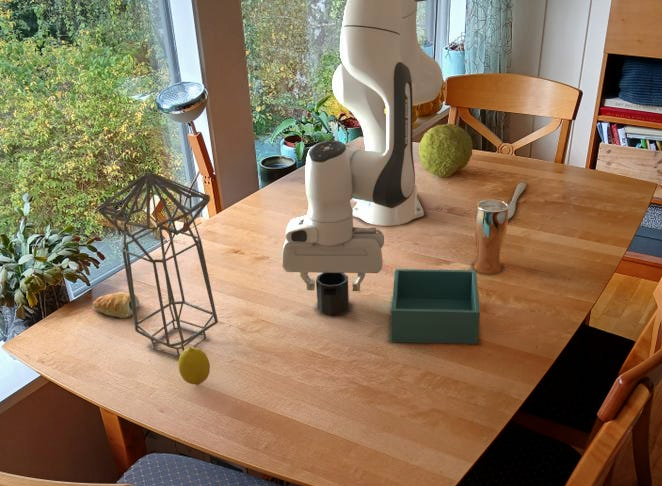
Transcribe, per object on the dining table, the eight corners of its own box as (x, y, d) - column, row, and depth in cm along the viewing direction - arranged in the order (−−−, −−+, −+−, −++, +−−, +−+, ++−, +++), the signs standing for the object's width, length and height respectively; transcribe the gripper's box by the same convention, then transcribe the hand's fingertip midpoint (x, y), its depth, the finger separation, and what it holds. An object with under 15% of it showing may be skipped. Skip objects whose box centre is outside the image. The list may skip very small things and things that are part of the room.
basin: (394, 298, 158) (394, 269, 154) (473, 300, 156) (475, 270, 152) (391, 341, 144) (391, 310, 140) (477, 344, 143) (480, 312, 138)
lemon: (183, 376, 138) (176, 340, 133) (213, 374, 138) (207, 338, 133) (180, 394, 133) (173, 358, 128) (211, 392, 133) (205, 355, 129)
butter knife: (530, 183, 205) (519, 181, 206) (507, 223, 185) (496, 221, 186) (529, 185, 205) (519, 183, 206) (507, 225, 185) (495, 223, 186)
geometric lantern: (180, 314, 156) (149, 152, 136) (236, 336, 148) (212, 167, 128) (123, 350, 145) (80, 180, 125) (180, 376, 138) (144, 199, 118)
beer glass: (502, 275, 164) (509, 212, 155) (470, 273, 165) (475, 211, 157) (503, 261, 170) (509, 199, 161) (472, 259, 171) (477, 198, 162)
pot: (321, 296, 160) (319, 267, 156) (350, 297, 159) (349, 268, 155) (315, 318, 152) (313, 289, 148) (346, 319, 152) (345, 289, 148)
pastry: (88, 315, 157) (84, 300, 155) (103, 300, 162) (99, 284, 160) (129, 319, 155) (125, 303, 153) (143, 303, 160) (139, 287, 158)
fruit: (470, 184, 207) (447, 141, 198) (426, 194, 216) (403, 153, 208) (486, 148, 216) (465, 105, 207) (443, 159, 225) (421, 118, 216)
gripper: (384, 221, 146) (384, 282, 154) (282, 220, 149) (287, 281, 156) (383, 234, 141) (383, 297, 149) (277, 234, 143) (283, 296, 151)
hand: (333, 289), depth 153 cm, fingers open, 8 cm apart
